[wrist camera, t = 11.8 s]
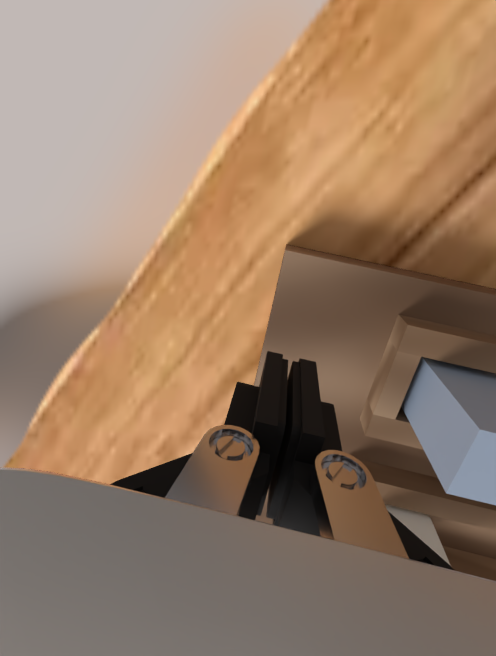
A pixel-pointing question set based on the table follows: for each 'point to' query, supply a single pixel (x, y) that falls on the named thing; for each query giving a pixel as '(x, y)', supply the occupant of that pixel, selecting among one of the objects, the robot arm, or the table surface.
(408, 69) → the table surface
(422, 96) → the table surface
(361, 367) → the switch board
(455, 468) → the slate-blue tab
